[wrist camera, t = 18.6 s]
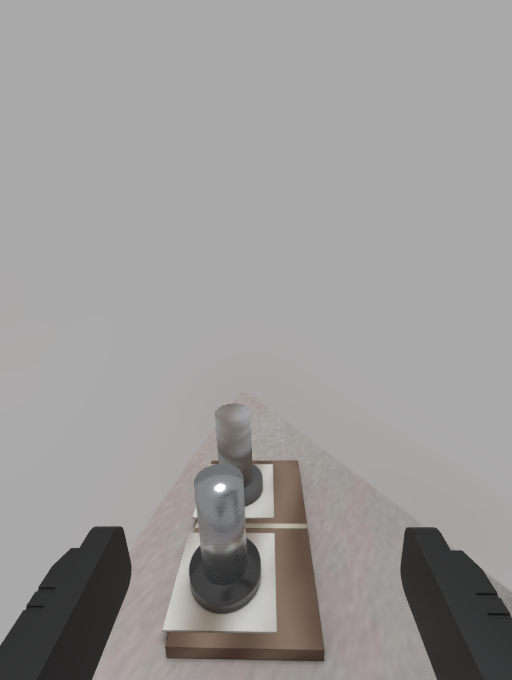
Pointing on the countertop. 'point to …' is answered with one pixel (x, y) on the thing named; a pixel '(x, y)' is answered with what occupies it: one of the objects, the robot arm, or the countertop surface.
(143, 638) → the countertop surface
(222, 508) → the pin
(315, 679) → the countertop surface
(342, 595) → the countertop surface
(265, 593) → the board
